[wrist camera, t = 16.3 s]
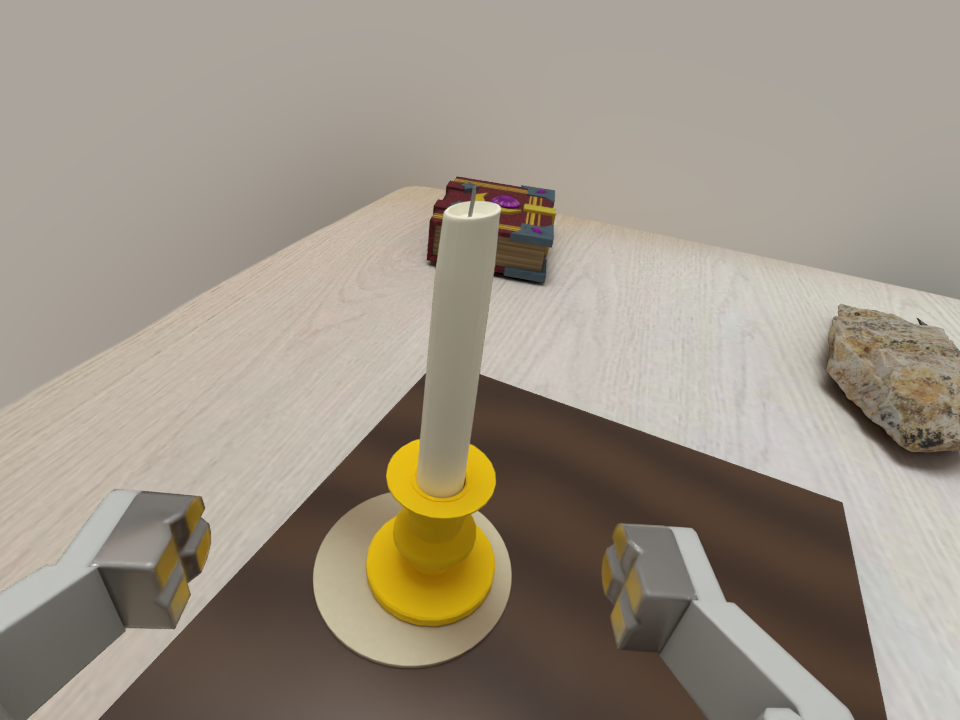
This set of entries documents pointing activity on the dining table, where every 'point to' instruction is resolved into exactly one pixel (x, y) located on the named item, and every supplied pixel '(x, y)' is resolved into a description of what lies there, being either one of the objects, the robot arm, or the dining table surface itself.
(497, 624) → the board
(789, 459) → the dining table surface
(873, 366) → the stone
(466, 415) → the candle
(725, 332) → the dining table surface
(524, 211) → the decorative book
